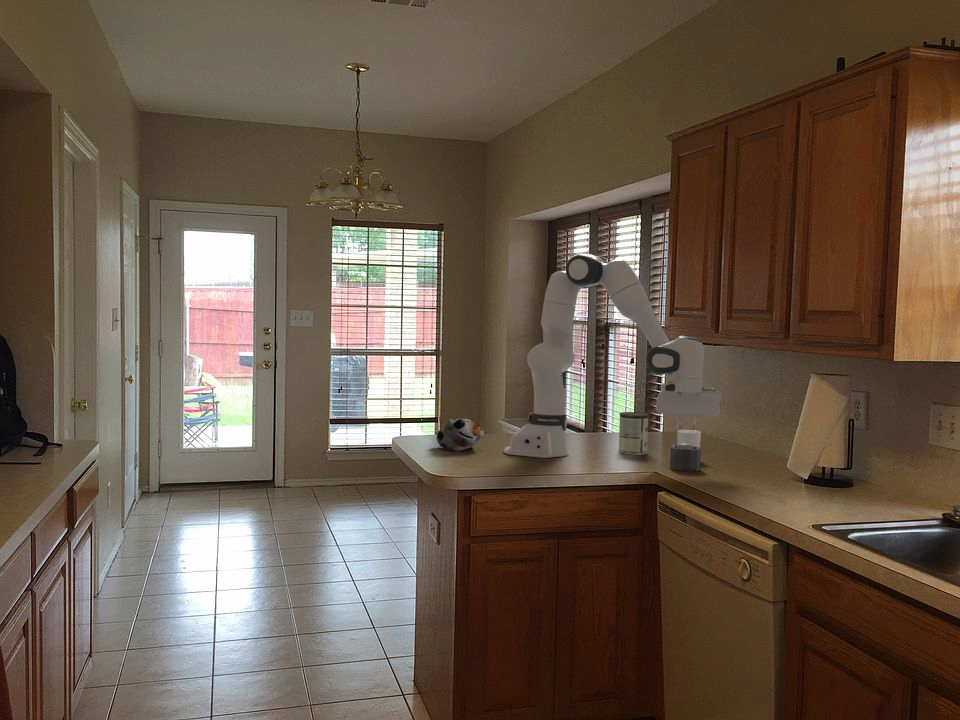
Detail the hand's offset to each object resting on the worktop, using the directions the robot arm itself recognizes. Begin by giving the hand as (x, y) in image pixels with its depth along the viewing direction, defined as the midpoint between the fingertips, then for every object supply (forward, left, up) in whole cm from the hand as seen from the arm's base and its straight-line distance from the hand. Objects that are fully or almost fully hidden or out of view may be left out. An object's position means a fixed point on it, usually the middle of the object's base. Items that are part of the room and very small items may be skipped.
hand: (686, 428), depth 272 cm
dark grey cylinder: (0, 0, -13) cm, 13 cm away
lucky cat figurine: (-77, +10, -13) cm, 79 cm away
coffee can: (-17, +27, -13) cm, 35 cm away
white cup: (+2, +18, -13) cm, 22 cm away
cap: (0, 0, -9) cm, 9 cm away
